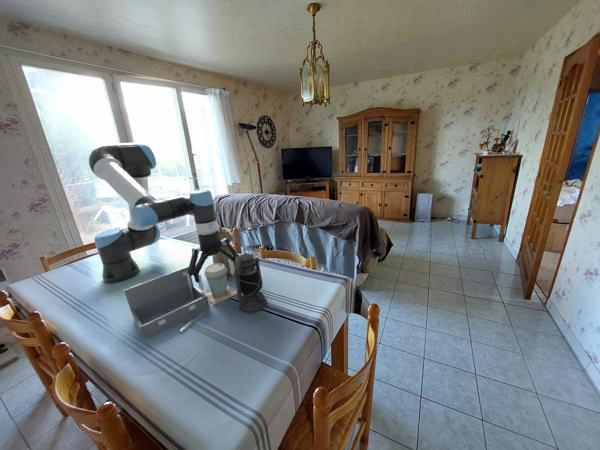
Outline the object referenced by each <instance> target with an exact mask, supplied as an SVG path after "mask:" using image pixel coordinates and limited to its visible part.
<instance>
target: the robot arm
mask: <svg viewBox="0 0 600 450" xmlns="http://www.w3.org/2000/svg"><path fill="white" fill-rule="evenodd" d="M88 165H89V168H90V170H91V171H92V173H93V174H94V175H95V176H96V177H97V178H99V179H100V180H103V181H105V182H106V183H107V184H108V185H109V186H110V187H111V188H112V189H113V190H114V191H115V192H116V193H117V194H118V195H119V196H120V197H121V198H122V199H123V200H124V201H125V202H126V203H127V204H128V209H129V210H128V211H129V218H130V220H129V221H128V222H127V228H124V229H123V228H122V227H114V228H109V229H106V230H103V231H101V232H100V233H98V234H96V235H95V237H94V240H93V241H94V244H95V248H96V250H97V252H98V255H99V258H100V261H101V263H102V277H101V278H102V280H103V282H104V283H107V284H111V283H114V284H115V283H119V282H122V281H125V280H128V279H130V278H133V277H135V276H136V275H137V274H139V272H140V271H141V269H140V267H139V265H138V263H137V262H136V261H135V259H133V257H132V254H131V252H134V251H136V250H139V249H142V248H145V247H148V246H151V245H154V244H155V243H157V242H158V241H159V240H160V238H161V231H160V227H159V225H158V224H161V223H165V222H168V221H170V220H173V219H177V218H178V219H179V218H182V217H185V216H188V215H189V216H193V218H194V219H193V220H194V222H195V228H196V233H197V238H198V241H199V247H197V248H195V247H193V248H191V253H192V254H191V258H190V261H189V265H188V266H189V268H188V272H187V273H188V274H189V275H190V276H191V277H194V281H195V282H196V284H198V289H199V290H201V291H203V290H205V286H204V284H203V277H202V274H201V273H200V271H201V270H202V268H203V267H204V265H205V262H206V260H207V259H208V258H209V257H212V256H213V255H214V254H218V252H221V253H222V254H224V255H225V256H227V257H228V258H230V259H231V260H230V259H229V260H228V261H229V267H230V272H231V275H232V276H234V270H235V269H234V267H235V258H237V257H239V256H240V255H239V254H238V253H237V257H236V250H235V249H234V247H233V246H232V245H231V243H229V240H228V239H226V238H223V240H220V235H219V231H218V228H219V225H218V221H217V220H218V219H217V214H216V209H215V202H214V199H213V194H212V191H210V189H209V190H208V189H198V190H193V191H190V192H189V194H185V193H181V194H177V195H174V196H173V197H170V198H165V199H161V200H157V199H156V198H155V197H154V196H153V195H152V194H151V193H150V192H149V181H148V179H149V177H150V176H151V175H152V172H151V171H152V170H154V169H156V166H157V161H156V156H155V154H154V151H153V150H152V148H150V147H149V145H148V144H146V143H145V142H121V143H119V142H118V143H104V144H101V145H98V146H97V147H95V148H94V149H93V150H92V151H91V153H90V154H89V157H88ZM222 243H223V244H224V245H225V246H226V247H227V248H228V249H229V251H230V252H231V253H232V254H233V255H232V256H231V255H230V254H228V253H227V252H225V251H224V250H223V249H221V245H222ZM200 253H201V254H200ZM199 254H200V256H199Z"/></svg>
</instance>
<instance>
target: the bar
mask: <svg viewBox="0 0 600 450" xmlns="http://www.w3.org/2000/svg"><path fill="white" fill-rule="evenodd" d="M203 315H204V311H200V312H199V313H197V314H195V315H194V316H193V317H192V318H191V319H190V320H189V321H188V322H187V323H185V324H184V325H183V326H182V327H181V328H180V329H179V330H178V332H179V333H180V334H182V333H184V332H185V331H186V330H187V329H188V328H190V327H191V326H192V325H193V324H194V323H196V321H198V320H199V318H201V317H202V316H203Z"/></svg>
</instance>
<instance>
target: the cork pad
mask: <svg viewBox="0 0 600 450" xmlns="http://www.w3.org/2000/svg"><path fill="white" fill-rule="evenodd" d="M204 294H205V295H206V296H207V299H208V301H210V303H212V304H213V305H214V306H217V305H218V304H221V303H222V302H224V301H227V300H228V299H230V298H232V297H234V296H236V295H238V294H237V290H234V289H233V288H232V287H230V286H229V285H228V284H227V294H226V295H225V296H223V297H220V298H215V297H213V295H212V293H211V290H210V291H209V292H206V293H204Z"/></svg>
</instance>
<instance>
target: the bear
mask: <svg viewBox="0 0 600 450" xmlns="http://www.w3.org/2000/svg"><path fill="white" fill-rule="evenodd" d="M218 231H219V235H220V240H223V238H226V239H228V240H229V244H231V242H232V241H234V239H235V236H236V234H235V233H232V232H229V231H227V229H223V227H222V225H218ZM221 249H223V250H224V251H225V252H227V253H228V254H230V255H231V256H232V255H233V254H232V253H231V252H230V251H229V249H228V248H227V247H226V246H225V245H224V244H223V243H222V245H221ZM211 257H212V264H216V263H221V264H224V265H225V267H226V269H227V271H226V276H230V275H232V274H231V272H230V267H229V261H228V260H229V259H230V258H228V257H227V256H225V255H224V254H222V253H221V252H218V254H214V255H212V256H211ZM230 260H231V259H230ZM237 261H239V260H238V257H237V258H236V267H234V269H235V270H236V269H237V268H238V265H237Z"/></svg>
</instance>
